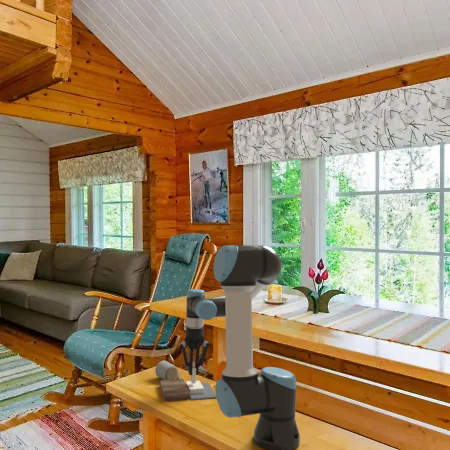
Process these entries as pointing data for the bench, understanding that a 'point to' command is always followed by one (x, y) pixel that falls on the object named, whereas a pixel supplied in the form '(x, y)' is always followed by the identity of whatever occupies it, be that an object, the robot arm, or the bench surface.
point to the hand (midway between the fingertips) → (193, 382)
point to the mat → (206, 395)
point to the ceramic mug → (166, 371)
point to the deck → (174, 390)
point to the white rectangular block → (195, 387)
